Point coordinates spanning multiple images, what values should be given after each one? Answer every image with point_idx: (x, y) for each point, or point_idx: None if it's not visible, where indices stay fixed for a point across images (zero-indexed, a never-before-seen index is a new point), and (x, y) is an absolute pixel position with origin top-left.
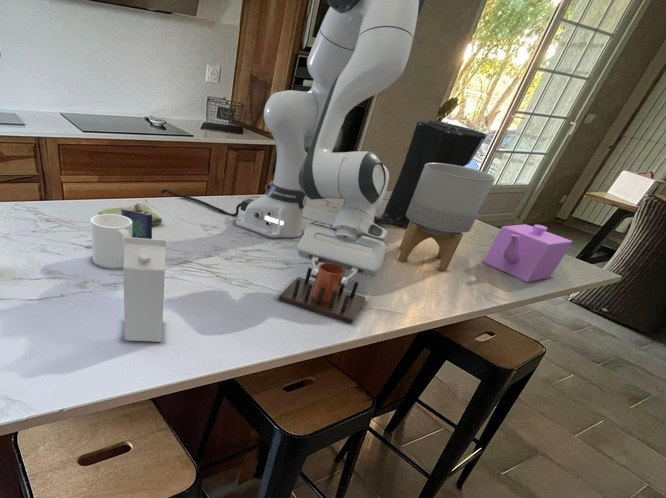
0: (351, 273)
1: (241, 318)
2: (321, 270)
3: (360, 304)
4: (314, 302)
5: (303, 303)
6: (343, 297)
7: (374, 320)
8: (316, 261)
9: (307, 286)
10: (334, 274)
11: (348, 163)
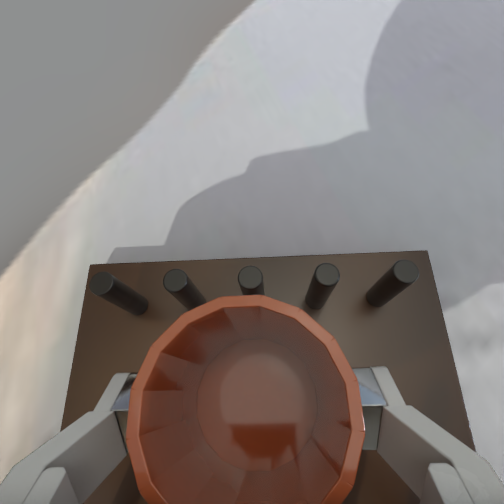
0: (64, 449)
1: (426, 72)
2: (309, 316)
3: None
4: (272, 297)
5: (309, 255)
6: None
7: (5, 376)
8: (432, 467)
9: (382, 470)
10: (196, 307)
11: None
